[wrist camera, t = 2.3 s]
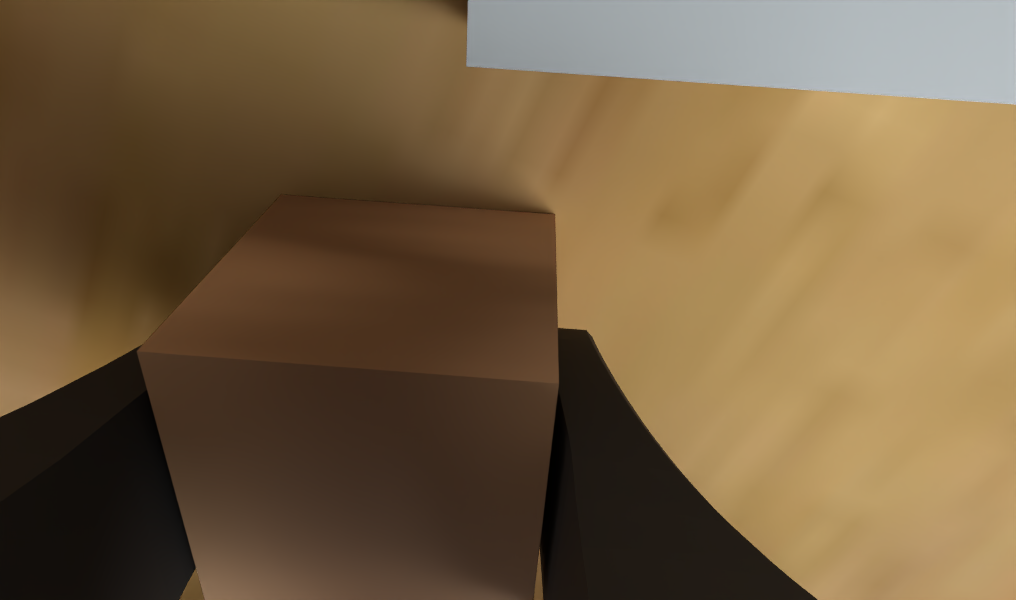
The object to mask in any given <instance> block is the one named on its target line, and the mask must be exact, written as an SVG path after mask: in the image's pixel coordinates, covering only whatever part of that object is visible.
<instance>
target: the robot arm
mask: <svg viewBox="0 0 1016 600" xmlns="http://www.w3.org/2000/svg"><path fill="white" fill-rule="evenodd" d="M141 346H142V345H141ZM141 346H139V347H137V348H135V349H134V350H132V351H130V352H128V353H126V354H125V355H123V356H121V357H119V358H117V359H116V360H114V361H112V362H110V363H108V364H107V365H105V366H103V367H101V368H99V369H97V370H95V371H93V372H91V373H89V374H87V375H85V376H83V377H81V378H79V379H77V380H75V381H73V382H72V383H70V384H68V385H66V386H64V387H62V388H60V389H58V390H56V391H54V392H52V393H50V394H48V395H46V396H44V397H42V398H40V399H38V400H36V401H34V402H32V403H30V404H28V405H26V406H24V407H21V408H19V409H17V410H15V411H13V412H11V413H8V414H6V415H4V416H2V417H0V600H179V599H180V597H181V595H182V593H183V591H184V589H185V587H186V585H187V583H188V581H189V579H190V577H191V576H192V574H193V572H194V570H195V568H196V566H195V563H194V559H193V555H192V552H191V548H190V544H189V541H188V537H187V533H186V530H185V526H184V523H183V519H182V515H181V512H180V508H179V504H178V501H177V497H176V493H175V490H174V486H173V482H172V479H171V475H170V471H169V468H168V464H167V460H166V457H165V453H164V450H163V446H162V442H161V439H160V435H159V431H158V428H157V424H156V420H155V417H154V413H153V409H152V406H151V402H150V398H149V395H148V391H147V387H146V384H145V380H144V377H143V373H142V369H141V366H140V362H139V358H138V355H137V350H138V349H139V348H140V347H141ZM558 365H559V387H558V396H557V404H556V412H555V421H554V429H553V438H552V446H551V455H550V463H549V472H548V480H547V488H546V497H545V505H544V514H543V522H542V531H541V539H540V558H541V571H542V585H543V599H544V600H817V599H816V598H815V597H814V596H812V595H811V594H810V593H808V592H807V591H806V590H805V589H803V588H802V587H801V586H800V585H798V584H797V583H796V582H795V581H793V580H792V579H791V578H790V577H789V576H787V575H786V574H785V573H784V572H783V571H782V570H780V569H779V568H778V567H777V566H776V565H774V564H773V563H772V562H771V561H770V560H769V559H768V558H767V557H765V556H764V555H763V554H762V553H761V552H760V551H759V550H758V549H757V548H756V547H754V546H753V545H752V544H751V543H750V542H749V541H748V540H747V539H746V538H745V537H743V536H742V535H741V534H740V533H739V532H738V531H737V530H736V529H735V528H734V527H732V526H731V525H730V524H729V523H728V522H727V521H726V520H725V519H724V518H723V517H722V516H721V515H720V514H719V513H718V512H717V511H716V510H715V509H714V508H713V507H712V506H711V505H710V504H709V503H708V501H707V500H706V499H705V498H704V497H703V496H702V495H701V494H700V493H699V492H698V491H697V489H696V488H695V487H694V486H693V485H692V484H691V483H690V482H689V481H688V479H687V478H686V477H685V476H684V475H683V474H682V472H681V471H680V470H679V469H678V468H677V466H676V465H675V464H674V463H673V461H672V460H671V459H670V458H669V457H668V455H667V454H666V453H665V451H664V450H663V449H662V447H661V446H660V445H659V444H658V442H657V441H656V440H655V438H654V437H653V436H652V434H651V433H650V432H649V430H648V429H647V427H646V426H645V425H644V423H643V422H642V421H641V419H640V418H639V416H638V415H637V413H636V412H635V410H634V409H633V407H632V406H631V404H630V403H629V401H628V400H627V398H626V397H625V395H624V394H623V392H622V390H621V389H620V387H619V386H618V384H617V382H616V381H615V379H614V377H613V375H612V374H611V372H610V370H609V369H608V367H607V365H606V363H605V361H604V360H603V358H602V356H601V354H600V352H599V350H598V348H597V346H596V344H595V342H594V340H593V338H592V336H591V335H590V334H589V333H588V332H587V330H577V329H563V328H558Z"/></svg>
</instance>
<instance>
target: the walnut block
mask: <svg viewBox="0 0 1016 600" xmlns="http://www.w3.org/2000/svg"><path fill="white" fill-rule="evenodd" d="M137 355H138V358H139V362H140V366H141V369H142V373H143V377H144V380H145V384H146V387H147V391H148V395H149V398H150V402H151V406H152V409H153V413H154V417H155V420H156V424H157V428H158V431H159V435H160V439H161V442H162V446H163V450H164V453H165V457H166V460H167V464H168V468H169V471H170V475H171V479H172V482H173V486H174V490H175V493H176V497H177V501H178V504H179V508H180V512H181V515H182V519H183V523H184V526H185V530H186V533H187V537H188V541H189V544H190V548H191V552H192V555H193V559H194V563H195V566H196V570H197V574H198V577H199V581H200V585H201V588H202V592H203V596H204V599H205V600H533V598H534V590H535V581H536V573H537V564H538V556H539V548H540V539H541V531H542V522H543V514H544V505H545V497H546V488H547V480H548V472H549V463H550V455H551V446H552V438H553V429H554V421H555V412H556V404H557V396H558V387H559V365H558V320H557V276H556V232H555V214H543V213H530V212H516V211H502V210H488V209H474V208H460V207H447V206H433V205H419V204H405V203H391V202H377V201H364V200H350V199H336V198H322V197H308V196H295V195H280V196H279V197H278V199H277V200H276V201H275V202H274V203H273V204H272V205H271V206H270V207H269V208H268V209H267V211H266V212H265V213H264V214H263V215H262V216H261V217H260V218H259V219H258V220H257V221H256V222H255V224H254V225H253V226H252V227H251V228H250V229H249V230H248V231H247V232H246V233H245V234H244V235H243V237H242V238H241V239H240V240H239V241H238V242H237V243H236V244H235V245H234V246H233V247H232V248H231V250H230V251H229V252H228V253H227V254H226V255H225V256H224V257H223V258H222V259H221V260H220V261H219V263H218V264H217V265H216V266H215V267H214V268H213V269H212V270H211V271H210V272H209V273H208V274H207V276H206V277H205V278H204V279H203V280H202V281H201V282H200V283H199V284H198V285H197V286H196V287H195V289H194V290H193V291H192V292H191V293H190V294H189V295H188V296H187V297H186V298H185V299H184V300H183V302H182V303H181V304H180V305H179V306H178V307H177V308H176V309H175V310H174V311H173V312H172V314H171V315H170V316H169V317H168V318H167V319H166V320H165V321H164V322H163V323H162V324H161V325H160V327H159V328H158V329H157V330H156V331H155V332H154V333H153V334H152V335H151V336H150V337H149V338H148V340H147V341H146V342H145V343H144V344H143V345H142V346H141V347H140V348H139V349H138V350H137Z"/></svg>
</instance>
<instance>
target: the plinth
mask: <svg viewBox="0 0 1016 600" xmlns="http://www.w3.org/2000/svg"><path fill="white" fill-rule="evenodd" d="M466 66H467V67H482V68H496V69H511V70H525V71H540V72H554V73H569V74H583V75H598V76H612V77H627V78H641V79H656V80H670V81H685V82H699V83H714V84H728V85H743V86H757V87H772V88H786V89H801V90H815V91H830V92H844V93H859V94H873V95H888V96H902V97H917V98H931V99H946V100H960V101H975V102H989V103H1003V104H1016V0H468V21H467V64H466Z"/></svg>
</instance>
